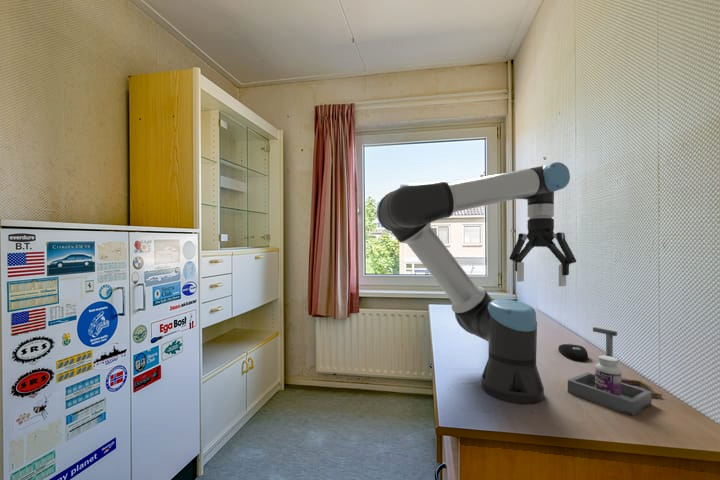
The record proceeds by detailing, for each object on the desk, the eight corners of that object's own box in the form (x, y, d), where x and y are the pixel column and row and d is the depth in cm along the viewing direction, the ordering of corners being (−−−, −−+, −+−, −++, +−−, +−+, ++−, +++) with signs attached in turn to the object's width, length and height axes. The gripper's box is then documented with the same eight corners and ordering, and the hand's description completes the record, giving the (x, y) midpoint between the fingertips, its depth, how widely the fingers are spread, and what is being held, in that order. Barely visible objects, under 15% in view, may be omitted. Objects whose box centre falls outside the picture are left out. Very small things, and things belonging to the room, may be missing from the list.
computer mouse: (568, 361, 109) (568, 349, 109) (556, 350, 121) (556, 339, 121) (593, 363, 107) (593, 351, 107) (578, 352, 119) (578, 341, 119)
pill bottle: (590, 392, 84) (590, 355, 84) (603, 389, 86) (603, 353, 86) (612, 401, 79) (612, 362, 79) (626, 398, 81) (626, 360, 81)
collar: (661, 398, 83) (661, 394, 83) (622, 394, 85) (622, 390, 85) (641, 384, 91) (641, 380, 91) (606, 380, 93) (606, 377, 93)
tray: (632, 416, 74) (632, 402, 74) (567, 391, 86) (567, 380, 86) (651, 404, 79) (651, 391, 79) (587, 382, 91) (587, 372, 91)
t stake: (614, 377, 95) (614, 333, 95) (590, 370, 101) (590, 328, 101) (621, 374, 97) (621, 331, 98) (597, 367, 103) (597, 326, 103)
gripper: (589, 216, 95) (589, 287, 95) (512, 221, 117) (511, 279, 117) (576, 214, 92) (576, 289, 91) (499, 219, 113) (498, 280, 113)
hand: (540, 283), depth 104 cm, fingers open, 13 cm apart
